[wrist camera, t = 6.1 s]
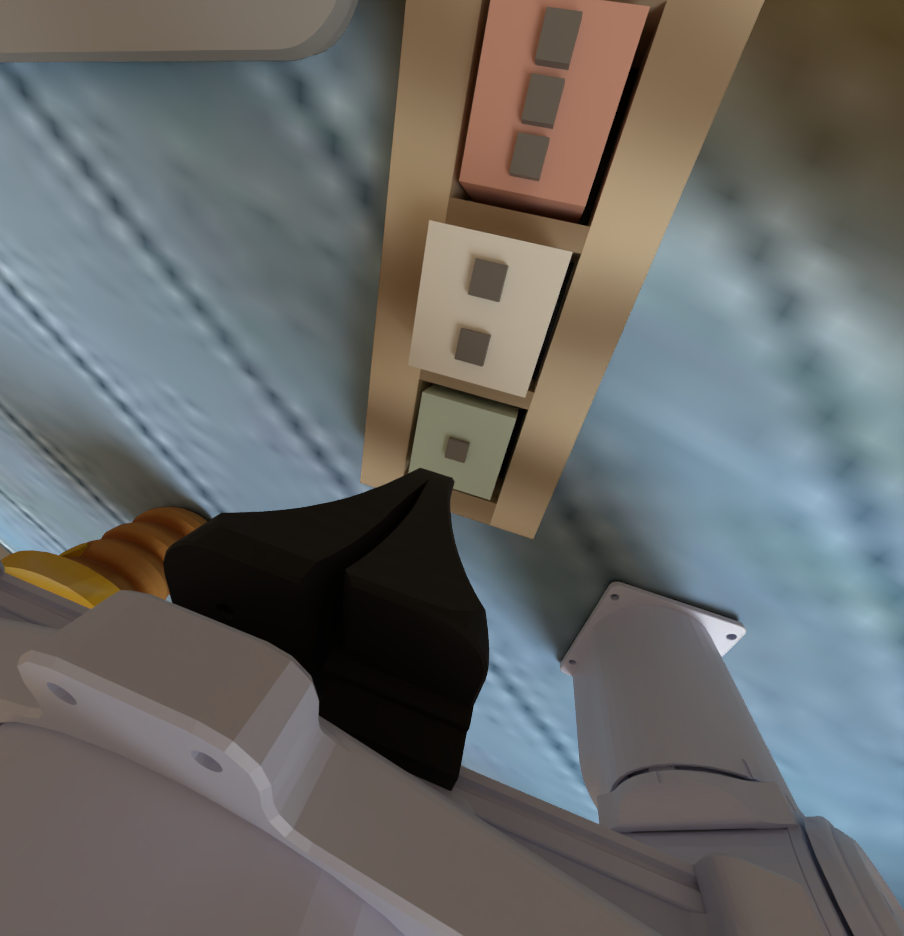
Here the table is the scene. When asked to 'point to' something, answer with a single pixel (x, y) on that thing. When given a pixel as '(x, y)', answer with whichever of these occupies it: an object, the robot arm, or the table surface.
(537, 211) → the button
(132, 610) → the robot arm
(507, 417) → the button
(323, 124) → the table surface
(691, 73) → the button board
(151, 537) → the toy
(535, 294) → the cream studded block
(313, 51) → the tablet
